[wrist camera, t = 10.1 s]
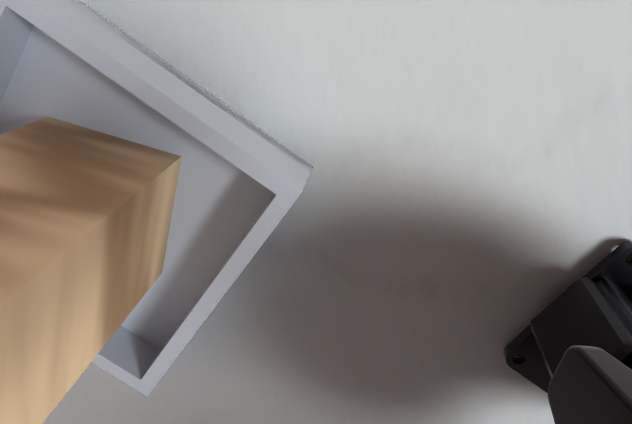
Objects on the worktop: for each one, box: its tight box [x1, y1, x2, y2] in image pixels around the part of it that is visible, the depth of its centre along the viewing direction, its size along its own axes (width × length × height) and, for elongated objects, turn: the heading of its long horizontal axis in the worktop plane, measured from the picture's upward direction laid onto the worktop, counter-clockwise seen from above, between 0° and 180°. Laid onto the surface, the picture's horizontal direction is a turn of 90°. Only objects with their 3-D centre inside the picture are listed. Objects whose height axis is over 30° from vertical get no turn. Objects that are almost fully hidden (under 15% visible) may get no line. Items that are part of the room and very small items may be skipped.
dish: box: [0, 0, 313, 397], centre depth 20 cm, size 11×11×2 cm
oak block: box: [0, 117, 182, 424], centre depth 15 cm, size 5×5×11 cm
